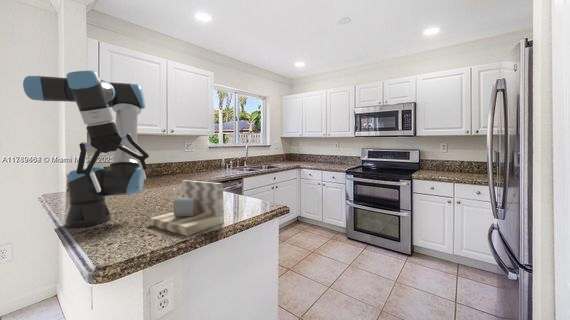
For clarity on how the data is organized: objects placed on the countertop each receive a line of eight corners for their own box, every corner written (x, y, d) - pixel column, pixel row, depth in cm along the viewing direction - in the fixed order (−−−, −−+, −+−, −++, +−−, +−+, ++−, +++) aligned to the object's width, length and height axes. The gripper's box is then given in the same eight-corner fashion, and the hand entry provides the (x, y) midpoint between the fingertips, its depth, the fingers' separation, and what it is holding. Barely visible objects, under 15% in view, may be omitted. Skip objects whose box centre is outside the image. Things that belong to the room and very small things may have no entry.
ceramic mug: (195, 217, 95) (194, 198, 94) (173, 219, 93) (172, 199, 93) (199, 211, 105) (199, 193, 105) (179, 212, 104) (179, 195, 103)
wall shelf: (149, 225, 97) (147, 185, 96) (187, 214, 111) (185, 180, 110) (187, 235, 84) (185, 189, 83) (224, 222, 98) (222, 183, 97)
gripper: (44, 133, 67) (75, 200, 74) (144, 116, 79) (163, 176, 85) (52, 130, 74) (80, 192, 80) (143, 115, 85) (161, 171, 92)
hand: (123, 184), depth 83 cm, fingers open, 13 cm apart
